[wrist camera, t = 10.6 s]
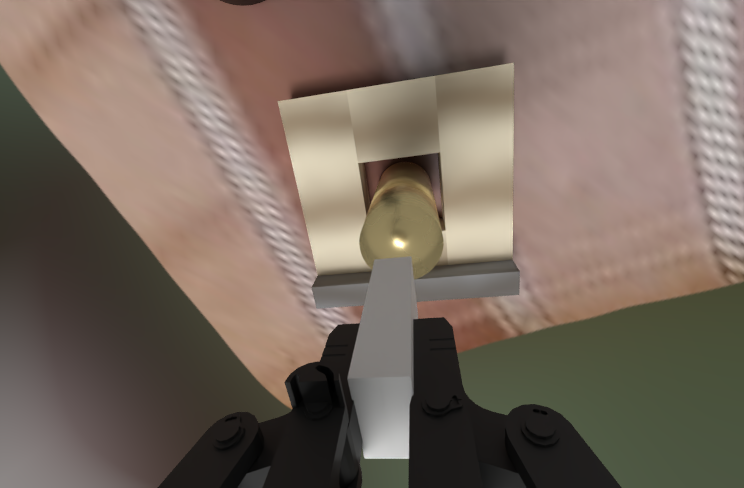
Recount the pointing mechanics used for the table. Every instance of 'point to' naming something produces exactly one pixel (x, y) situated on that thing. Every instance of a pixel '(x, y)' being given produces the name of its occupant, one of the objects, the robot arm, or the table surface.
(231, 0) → the mug
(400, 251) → the pale yellow cylinder
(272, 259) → the table surface
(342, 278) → the jig
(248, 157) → the table surface
